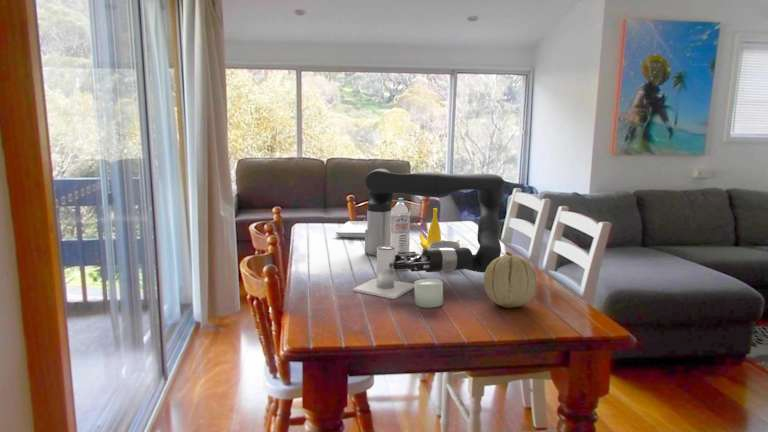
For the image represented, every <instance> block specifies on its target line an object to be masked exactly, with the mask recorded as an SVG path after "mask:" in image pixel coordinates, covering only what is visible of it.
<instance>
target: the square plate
mask: <svg viewBox="0 0 768 432" xmlns="http://www.w3.org/2000/svg"><path fill="white" fill-rule="evenodd" d="M365 229H367V220H366V221H365V220H362V221H361V220H359V221H358V220H357V221H356V220H355V221H353V220H348V221H347V222H345V223H344V224H343V225H342V226H340V228H338V229H337V230H336V232H335V233H336V235H338V236H339V237H342V238H351V239H365Z"/></svg>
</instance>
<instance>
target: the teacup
mask: <svg viewBox="0 0 768 432" xmlns="http://www.w3.org/2000/svg"><path fill="white" fill-rule="evenodd" d="M444 247H446V248H460V247H461V244H460V242H456V241H453V240H444V239H441V241H437V242H433V243H431V244H430V248H444Z"/></svg>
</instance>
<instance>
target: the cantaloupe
mask: <svg viewBox="0 0 768 432" xmlns="http://www.w3.org/2000/svg"><path fill="white" fill-rule="evenodd" d="M537 282H538V281H537V274H536V272H535V269H534V268H533V266H532V265H531V264H530V262H529V261H528V260H526V259H525V258H522V257H519V256H516V255H513V253H511V252H509V251H506V252H505V255H502V256H501V255H500V257H498V258H496V259H494V260H493V261H492V262H491V263H490V264H489V265H488V267H487V269H486V271H485V272H484V275H483V288H484V290H485V293H486V296H488V298H489V299H490V300H491V301H492V302H493V303H495V304H496V305H498V306H500V307H503V308H508V309H512V308H518V307H521V306H524V305H526V304H527V303H529V302H530V301H531V299H533V297H534V295H535V294H536V289H537V286H538V285H537V284H538V283H537Z"/></svg>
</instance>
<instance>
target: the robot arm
mask: <svg viewBox="0 0 768 432" xmlns="http://www.w3.org/2000/svg"><path fill="white" fill-rule="evenodd" d="M364 184H365V187H366V188H367V190H368V191H369V199H368V202H367V208H366V209H367V210H366V211H367V212H366V213H367V214H366V215H367V216H366V217H367V218H366V221H367V229H365V238H364V253H365V254H367V255H370V256H376V257H377V247H379V246H390V232H391V209H392V203H393V199H394V198H393V197H394V194H404V195H409V196H410V195H411V196H417V197H425V198H435V199H440V198H441V199H442V198H445V197H448V196H451V195H453V194H455V193H458V192H460V191H466V190H467V191H469V190H471V191H473V190H475V191H477V198H478V203H479V209H480V210H479V211H480V218H479V220H478V225H477V227H478V228H477V236H476V237H477V238H476V239H477V243H478V245H479V247H478V250H477V252H476V253H475V254H473V253H472V251H471V249H470V248H468V247H461V246H460V248H446V247H444V248H426V249H423V250H422V253H421V254H419V253H417V252H416V251H409V252H398V254H397V255H395V262H394V269H395V271H397V270H400V269H407V270H406V271H410V272H426V273H439V272H440V273H441V272H450V271H460V270H461V271H462V270H466V271H471V272H476V273H485V271H486V269H487V267H488V265H489V264H490V263H491V262H492V261H493V260H494V259H496V258H498V257H501V254H502V253H501V252H502V246H501V243H500V239H499V238H500V236H499V235H500V222H499V212H500V208H501V204H502V201H503V197H504V188H505V180H504V178H502V177H501V176H500V175H498V174H493V173H476V174H475V173H474V174H473V173H471V174H465V173H464V174H462V173H461V174H458V173H443V172H442V173H441V172H430V171H429V172H428V171H427V172H424V171H423V172H411V173H409V172H408V173H395V172H390V171H389V170H388V169H386V168H376V169H373V170H372V171H370V172H369V173H367V175H366V177H365V180H364ZM401 256H403V257H404V258H401Z"/></svg>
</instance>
